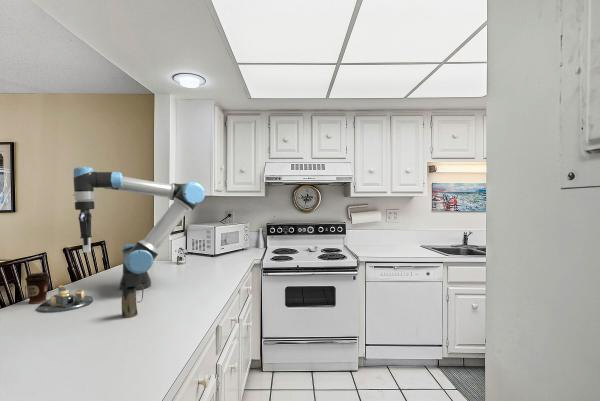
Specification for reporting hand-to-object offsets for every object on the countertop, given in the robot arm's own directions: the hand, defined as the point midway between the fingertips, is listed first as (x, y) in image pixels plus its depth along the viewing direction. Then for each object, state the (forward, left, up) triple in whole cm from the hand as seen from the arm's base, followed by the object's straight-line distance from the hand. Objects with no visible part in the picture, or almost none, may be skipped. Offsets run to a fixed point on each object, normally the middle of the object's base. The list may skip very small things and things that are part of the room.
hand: (86, 251), depth 150 cm
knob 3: (+2, +6, -21) cm, 22 cm away
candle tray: (+7, +3, -23) cm, 24 cm away
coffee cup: (+22, -5, -23) cm, 32 cm away
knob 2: (+8, +9, -21) cm, 25 cm away
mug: (-24, +27, -23) cm, 43 cm away
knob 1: (+11, -3, -21) cm, 24 cm away
